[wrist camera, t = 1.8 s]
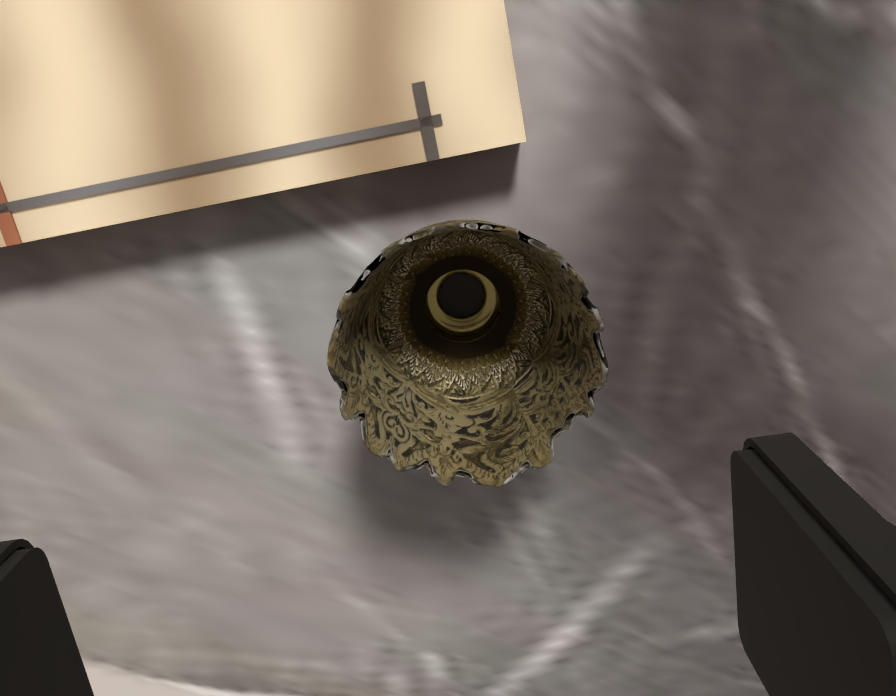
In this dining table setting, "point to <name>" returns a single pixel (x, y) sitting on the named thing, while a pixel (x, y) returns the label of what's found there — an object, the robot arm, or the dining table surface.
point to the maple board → (234, 100)
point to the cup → (467, 353)
